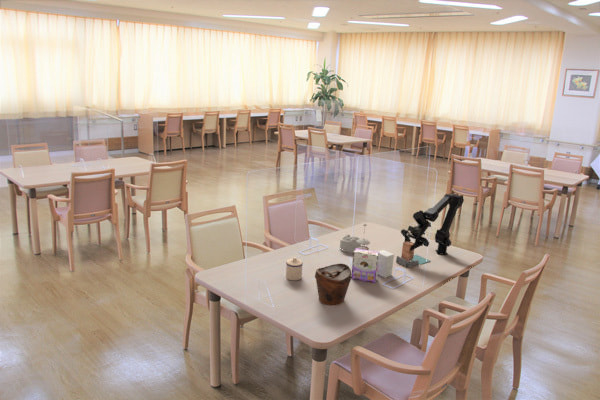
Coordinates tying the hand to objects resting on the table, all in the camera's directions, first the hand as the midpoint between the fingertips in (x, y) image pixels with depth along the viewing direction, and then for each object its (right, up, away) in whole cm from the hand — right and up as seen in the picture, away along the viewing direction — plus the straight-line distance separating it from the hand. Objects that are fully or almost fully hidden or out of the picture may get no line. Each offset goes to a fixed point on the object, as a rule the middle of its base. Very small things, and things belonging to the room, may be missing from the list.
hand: (406, 248), depth 296 cm
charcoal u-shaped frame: (+1, -9, +4) cm, 10 cm away
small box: (-16, -13, -12) cm, 24 cm away
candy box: (-28, -15, -20) cm, 37 cm away
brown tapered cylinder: (-48, -22, -45) cm, 70 cm away
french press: (-27, -8, +2) cm, 28 cm away
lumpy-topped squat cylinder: (-32, -2, +20) cm, 38 cm away
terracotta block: (+1, -6, +3) cm, 7 cm away
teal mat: (+9, -8, +10) cm, 16 cm away
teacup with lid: (-68, -13, -21) cm, 73 cm away
